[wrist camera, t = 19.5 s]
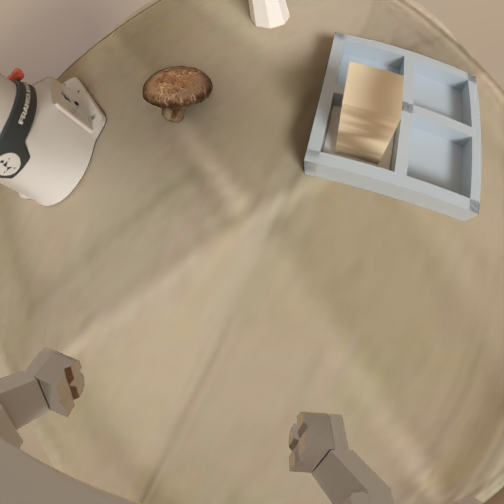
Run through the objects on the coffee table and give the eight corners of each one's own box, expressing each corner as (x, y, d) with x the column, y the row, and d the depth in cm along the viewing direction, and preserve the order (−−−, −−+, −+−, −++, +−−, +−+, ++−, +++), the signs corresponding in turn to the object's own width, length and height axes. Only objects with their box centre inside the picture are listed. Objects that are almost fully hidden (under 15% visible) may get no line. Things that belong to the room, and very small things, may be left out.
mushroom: (157, 137, 30) (149, 83, 25) (140, 115, 34) (133, 71, 29) (224, 120, 32) (223, 69, 28) (197, 101, 37) (195, 58, 32)
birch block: (334, 153, 28) (342, 103, 19) (342, 116, 28) (349, 61, 19) (377, 164, 27) (400, 118, 18) (383, 127, 27) (403, 75, 18)
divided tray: (304, 173, 30) (303, 160, 26) (334, 51, 30) (335, 32, 27) (463, 221, 26) (478, 214, 22) (465, 91, 27) (475, 76, 23)
